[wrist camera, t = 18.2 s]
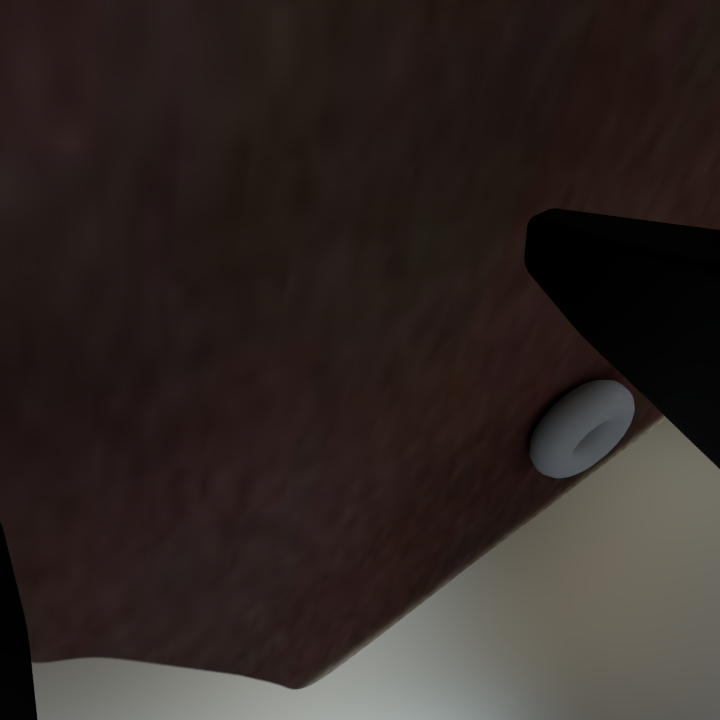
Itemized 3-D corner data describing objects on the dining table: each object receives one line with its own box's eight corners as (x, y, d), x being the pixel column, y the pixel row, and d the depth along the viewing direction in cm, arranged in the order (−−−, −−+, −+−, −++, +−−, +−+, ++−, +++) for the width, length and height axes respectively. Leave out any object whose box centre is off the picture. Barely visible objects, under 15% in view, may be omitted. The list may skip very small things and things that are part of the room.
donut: (629, 364, 45) (554, 378, 40) (664, 389, 43) (589, 408, 38) (575, 446, 51) (503, 468, 45) (603, 472, 48) (530, 499, 43)
